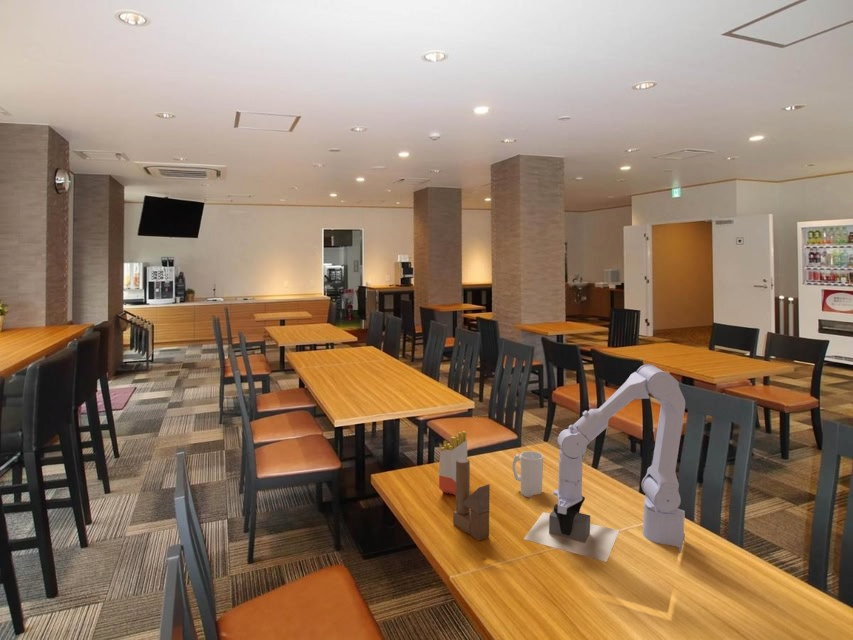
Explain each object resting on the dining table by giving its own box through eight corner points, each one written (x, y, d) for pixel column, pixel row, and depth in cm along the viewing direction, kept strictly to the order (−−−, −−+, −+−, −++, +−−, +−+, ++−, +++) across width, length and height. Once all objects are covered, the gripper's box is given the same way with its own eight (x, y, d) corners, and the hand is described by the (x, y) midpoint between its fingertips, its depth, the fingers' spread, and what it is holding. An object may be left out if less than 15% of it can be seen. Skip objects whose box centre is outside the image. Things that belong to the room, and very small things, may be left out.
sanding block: (589, 534, 132) (590, 515, 131) (585, 543, 128) (585, 524, 127) (554, 525, 136) (555, 507, 136) (549, 533, 132) (549, 515, 132)
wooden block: (478, 541, 131) (479, 473, 129) (452, 524, 139) (452, 459, 137) (489, 537, 133) (490, 469, 131) (463, 520, 142) (463, 456, 139)
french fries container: (438, 495, 156) (437, 437, 154) (454, 482, 166) (454, 427, 164) (451, 498, 154) (451, 440, 152) (467, 485, 163) (467, 429, 161)
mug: (546, 493, 158) (547, 454, 156) (535, 500, 153) (535, 461, 151) (518, 483, 164) (519, 446, 163) (506, 490, 159) (506, 452, 158)
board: (619, 534, 134) (619, 530, 134) (606, 565, 120) (606, 561, 120) (543, 515, 144) (543, 512, 144) (523, 542, 130) (523, 539, 130)
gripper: (562, 464, 139) (561, 513, 140) (545, 485, 126) (544, 538, 128) (589, 469, 135) (587, 519, 137) (575, 491, 123) (573, 545, 124)
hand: (568, 529), depth 132 cm, fingers closed on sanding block, 5 cm apart
